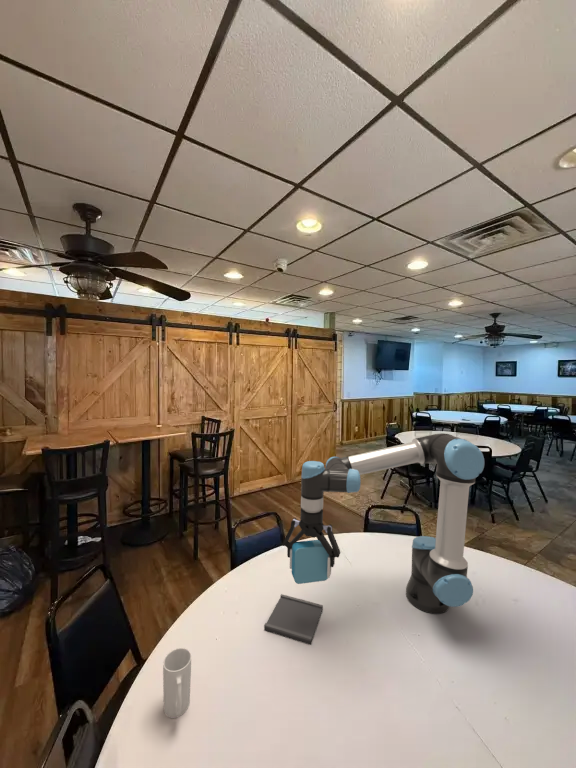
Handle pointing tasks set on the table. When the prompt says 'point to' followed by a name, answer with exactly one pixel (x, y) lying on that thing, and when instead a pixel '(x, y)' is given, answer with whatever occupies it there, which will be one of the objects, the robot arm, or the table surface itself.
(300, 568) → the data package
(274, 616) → the dark gray square slab
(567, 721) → the table surface
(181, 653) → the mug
